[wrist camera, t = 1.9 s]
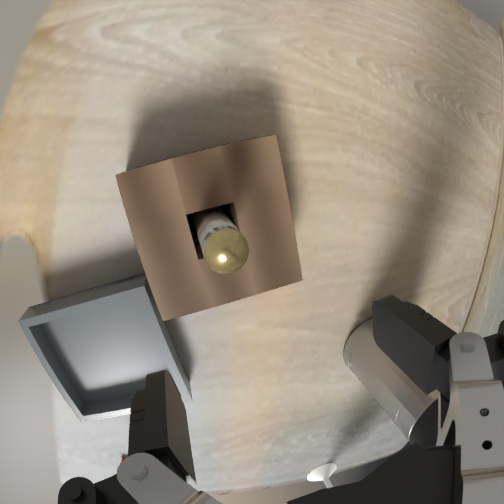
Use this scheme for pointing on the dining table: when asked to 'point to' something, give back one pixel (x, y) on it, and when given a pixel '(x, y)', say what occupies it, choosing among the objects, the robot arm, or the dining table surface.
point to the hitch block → (204, 197)
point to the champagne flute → (322, 473)
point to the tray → (103, 346)
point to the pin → (220, 240)
